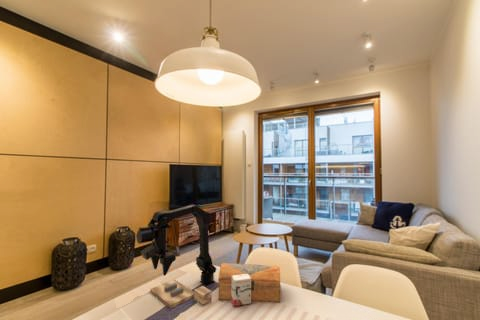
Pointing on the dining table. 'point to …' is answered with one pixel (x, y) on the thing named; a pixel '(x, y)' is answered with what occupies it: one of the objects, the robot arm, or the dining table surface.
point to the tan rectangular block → (202, 295)
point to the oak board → (169, 299)
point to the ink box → (241, 289)
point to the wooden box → (252, 281)
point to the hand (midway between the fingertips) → (159, 272)
